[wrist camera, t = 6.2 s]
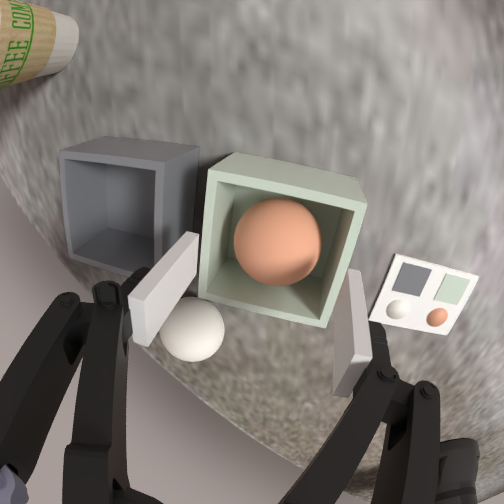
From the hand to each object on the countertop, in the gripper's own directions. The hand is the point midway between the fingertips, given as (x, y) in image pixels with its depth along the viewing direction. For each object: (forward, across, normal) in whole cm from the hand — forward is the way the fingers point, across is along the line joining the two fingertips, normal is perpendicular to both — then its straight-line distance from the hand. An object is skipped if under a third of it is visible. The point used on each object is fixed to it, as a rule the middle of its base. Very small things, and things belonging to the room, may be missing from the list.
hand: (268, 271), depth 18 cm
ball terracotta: (+4, 0, 0) cm, 4 cm away
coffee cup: (+8, +24, -14) cm, 29 cm away
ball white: (+5, +6, +11) cm, 13 cm away
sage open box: (+8, 0, 0) cm, 8 cm away
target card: (+8, -14, +4) cm, 17 cm away
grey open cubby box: (+8, +12, 0) cm, 14 cm away
